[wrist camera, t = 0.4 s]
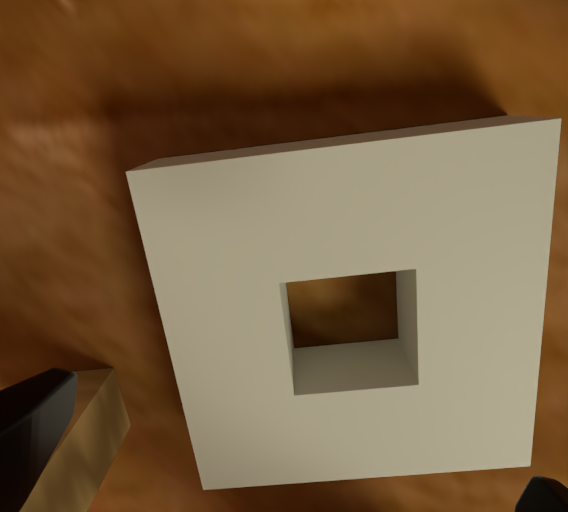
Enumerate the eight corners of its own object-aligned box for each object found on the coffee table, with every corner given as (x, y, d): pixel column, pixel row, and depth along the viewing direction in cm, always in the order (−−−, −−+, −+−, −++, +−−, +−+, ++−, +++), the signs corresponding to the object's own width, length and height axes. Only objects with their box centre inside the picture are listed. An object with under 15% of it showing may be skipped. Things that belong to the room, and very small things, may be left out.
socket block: (493, 410, 24) (530, 466, 21) (216, 432, 25) (203, 489, 22) (508, 115, 19) (561, 118, 15) (157, 158, 20) (125, 171, 16)
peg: (130, 425, 25) (48, 587, 17) (65, 430, 26) (-48, 593, 17) (113, 367, 24) (14, 512, 16) (45, 374, 24) (-89, 519, 16)
